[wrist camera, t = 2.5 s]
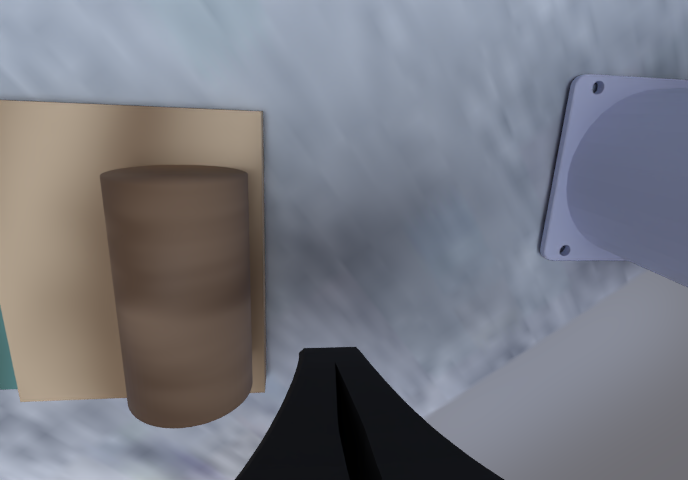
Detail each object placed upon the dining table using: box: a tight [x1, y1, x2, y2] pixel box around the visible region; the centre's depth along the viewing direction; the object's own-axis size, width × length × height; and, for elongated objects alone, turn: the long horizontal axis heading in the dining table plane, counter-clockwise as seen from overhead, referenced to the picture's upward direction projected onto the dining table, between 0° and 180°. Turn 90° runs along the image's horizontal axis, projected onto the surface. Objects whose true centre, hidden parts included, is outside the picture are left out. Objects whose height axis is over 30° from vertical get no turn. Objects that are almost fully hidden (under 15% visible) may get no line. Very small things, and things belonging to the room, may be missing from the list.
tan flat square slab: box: [0, 100, 266, 402], centre depth 17 cm, size 11×12×1 cm
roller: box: [100, 165, 253, 428], centre depth 15 cm, size 4×8×4 cm
